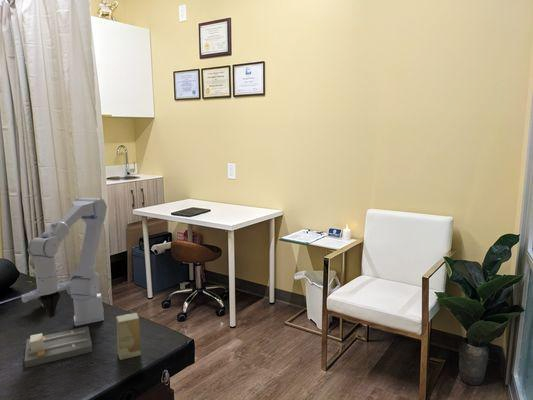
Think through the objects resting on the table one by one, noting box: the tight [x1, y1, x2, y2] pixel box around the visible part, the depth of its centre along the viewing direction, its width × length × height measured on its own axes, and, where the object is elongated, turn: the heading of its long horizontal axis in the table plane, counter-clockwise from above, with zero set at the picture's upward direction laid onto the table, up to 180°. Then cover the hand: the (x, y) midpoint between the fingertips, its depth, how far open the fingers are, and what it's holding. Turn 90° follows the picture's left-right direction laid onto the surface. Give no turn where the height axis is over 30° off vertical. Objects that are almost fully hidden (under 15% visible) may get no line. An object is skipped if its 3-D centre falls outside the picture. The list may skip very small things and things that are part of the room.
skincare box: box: [115, 312, 142, 361], centre depth 124 cm, size 6×4×12 cm
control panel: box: [24, 325, 93, 369], centre depth 128 cm, size 18×14×3 cm
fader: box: [29, 332, 44, 351], centre depth 125 cm, size 3×4×3 cm
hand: (51, 316), depth 130 cm, fingers closed
